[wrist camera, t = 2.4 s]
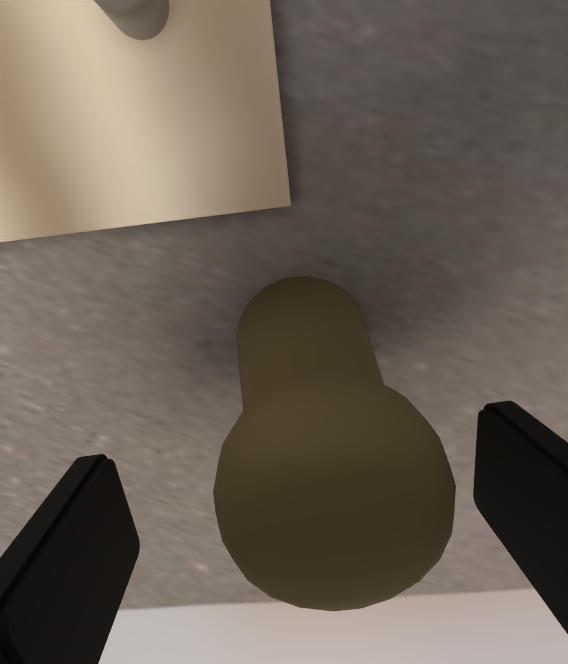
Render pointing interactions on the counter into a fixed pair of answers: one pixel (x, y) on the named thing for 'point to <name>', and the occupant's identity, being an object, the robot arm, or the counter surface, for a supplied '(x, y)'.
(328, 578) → the olive chess pawn
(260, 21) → the wooden board with pegs
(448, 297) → the counter surface
